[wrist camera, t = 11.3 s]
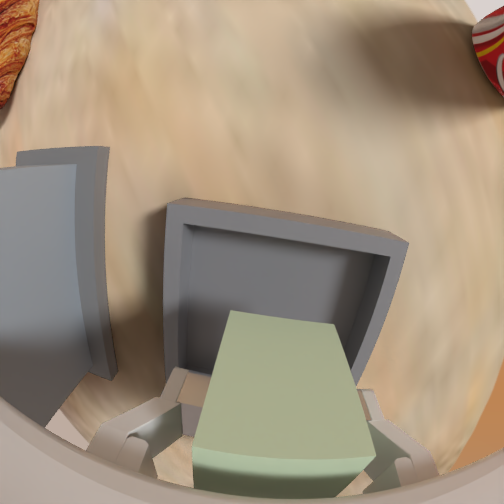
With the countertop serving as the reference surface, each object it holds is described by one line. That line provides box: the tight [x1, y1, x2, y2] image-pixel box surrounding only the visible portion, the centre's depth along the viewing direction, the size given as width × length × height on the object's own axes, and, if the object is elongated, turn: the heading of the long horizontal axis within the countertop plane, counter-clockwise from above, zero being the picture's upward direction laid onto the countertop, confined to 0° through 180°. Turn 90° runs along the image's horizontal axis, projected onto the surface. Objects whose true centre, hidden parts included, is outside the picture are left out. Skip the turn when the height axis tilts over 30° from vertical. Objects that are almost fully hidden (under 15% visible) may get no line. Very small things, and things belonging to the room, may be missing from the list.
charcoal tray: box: [163, 198, 409, 386], centre depth 14 cm, size 11×11×2 cm
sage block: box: [192, 310, 376, 499], centre depth 8 cm, size 4×4×6 cm
